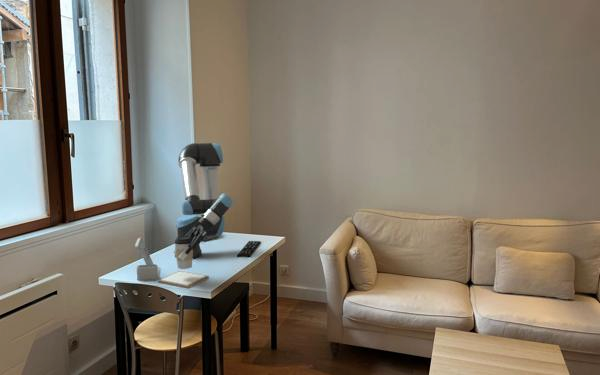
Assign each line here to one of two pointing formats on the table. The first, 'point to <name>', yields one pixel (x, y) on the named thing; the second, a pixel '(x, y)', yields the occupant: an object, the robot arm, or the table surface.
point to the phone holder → (149, 269)
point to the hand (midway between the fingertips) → (177, 256)
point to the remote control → (249, 249)
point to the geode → (208, 238)
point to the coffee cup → (179, 248)
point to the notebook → (183, 279)
